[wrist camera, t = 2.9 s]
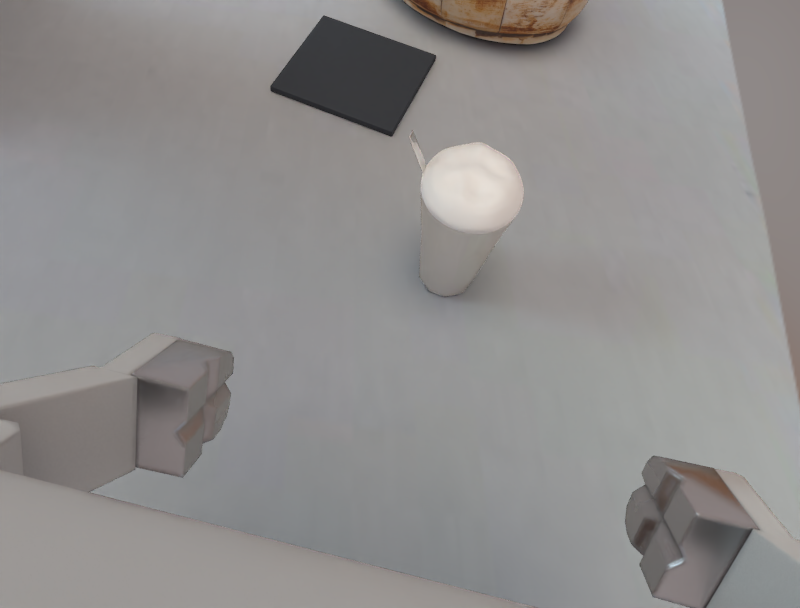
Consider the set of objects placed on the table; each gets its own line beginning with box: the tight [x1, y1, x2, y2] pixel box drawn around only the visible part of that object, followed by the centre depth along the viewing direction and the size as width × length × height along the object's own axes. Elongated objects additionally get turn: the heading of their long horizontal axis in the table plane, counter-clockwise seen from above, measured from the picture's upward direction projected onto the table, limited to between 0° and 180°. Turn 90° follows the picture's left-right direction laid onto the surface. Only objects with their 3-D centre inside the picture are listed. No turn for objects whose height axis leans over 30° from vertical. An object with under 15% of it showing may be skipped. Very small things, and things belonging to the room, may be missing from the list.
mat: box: [271, 16, 436, 136], centre depth 35 cm, size 9×8×1 cm
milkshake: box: [409, 130, 524, 297], centre depth 25 cm, size 4×5×10 cm
